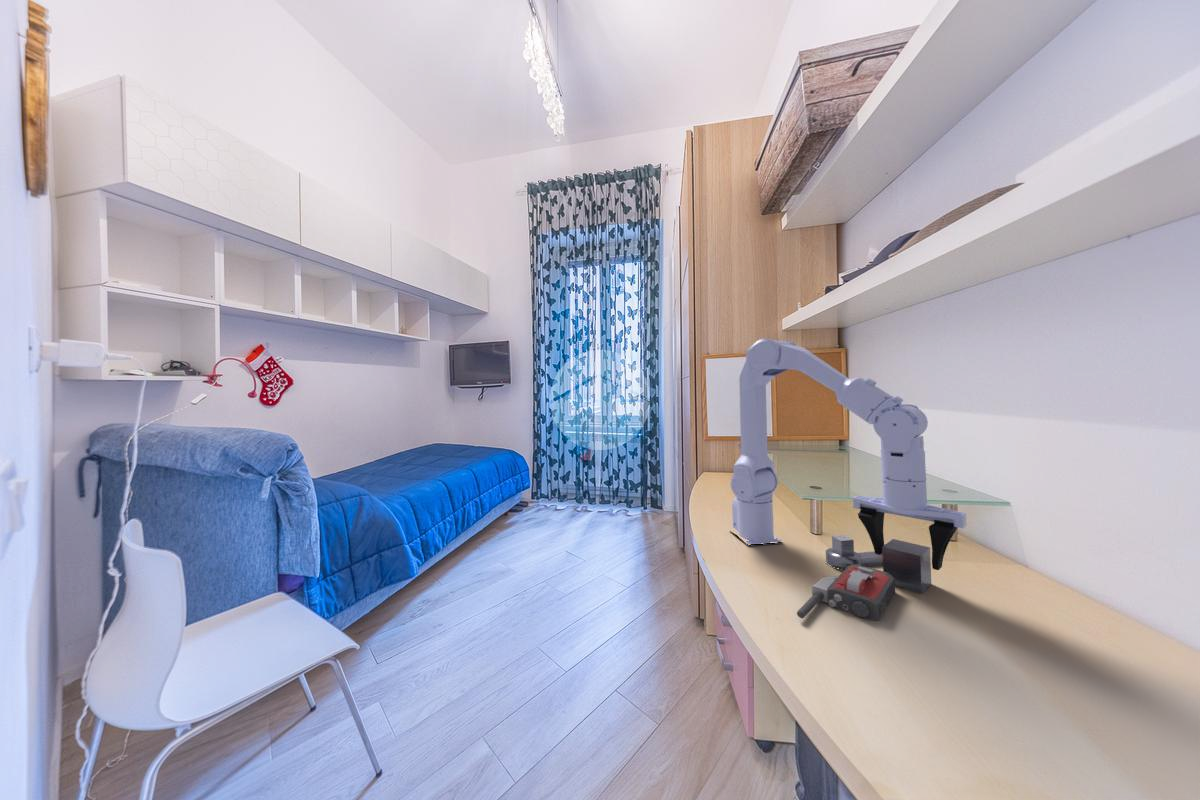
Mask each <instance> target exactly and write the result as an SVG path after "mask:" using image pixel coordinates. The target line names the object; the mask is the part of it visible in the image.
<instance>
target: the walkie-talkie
mask: <svg viewBox="0 0 1200 800" xmlns="http://www.w3.org/2000/svg"><path fill="white" fill-rule="evenodd" d="M811 593H812V594H811V597H809V599H808V600H807V601H806V602H805V603H804V604H803V605H802V606H801V607H800V608H799V609H798V610H797V611H796V615H797V617H798V618H800V619H805V617H806V616H808V614H809V613H810V612H812V611H811V610H812V609H813V608H815V606H816V605H817V604H818V603H820V602H823V603H827V604H828V605H829V607H831V608H837V609H839V610H843V611H846V612H849V613H851V614H854V615H856V616H857V617H859V618H863V619H864V618H865V619H868V620H872V621H874V622H878V621H880V619H881V618H882V616H883V615H884V614H885V611H886V610H887V608H888V606H889V604H890V603H891V601H892V600H893V598H894V596H895V594H896V586H895V579H894V578H893V577H892V576H891V575H890V574H889V573H887V572H884V571H883V570H881V569H876V568H872V567H869V566H861V565H856V564H855V565H851V566H848V567H847V568H846V569H845V570H844V571H842V572H841V573H840V574H839V575H838V576H836V575H834V576H823V577H822V578H820V579H819V580H818V582H817V583H814V584H813V585H812V586H811Z"/></svg>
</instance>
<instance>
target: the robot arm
mask: <svg viewBox="0 0 1200 800" xmlns="http://www.w3.org/2000/svg"><path fill="white" fill-rule="evenodd" d="M789 370H792V371H793V370H794V371H799V372H800V373H803V374H805V376H806V375H807V376H808V377H809V378H811V379H812V380H814V381H816V382H818V383H819V384H821V385H823V386H825V388H828V389H830V390H831V391H833V392H834V393H835V396H836V400H837V403H838V404H840V405H841V406H843V407H844V409H845V408H846V409H847V410H848V411H849V412H851V413H853V414H854V415H856V416H857V417H859V418H860V419H861V420H863V422H864V421H865V422H866V423H868V424H869V425H872V426H873V429H874V432H875V433H876V435H877V436H878V437H879V438H880V462H881V482H882V483H881V485H882V489H881V490H882V498H881V497H872V496H871V497H870V496H864V495H863V496H862V495H856V496H853V497H852V506H853V509H856V510H859V512H858V513H857V515H858V519H859V520H860V521H861V523H862V525H863V526H864V528H865V530H866V532H867V533H868V536H869V539H870V541H871V543H872V548H873V550H874V551H875V554H878V555H880V554H882V553H883V552H882V546H884V545H885V539H884V536H885V535H884V524H885V523H884V521H885V514H890V515H893V516H894V515H895V516H900V517H904V518H912V519H916V520H917V519H918V520H923V521H928V522H932V523H931V524H930V525H929V526H928V531H929V537H930V543H931V569H933V570H936V571H940V569H942V567H943V561H944V556H945V554H946V551H947V548H948V545H949V544H950V542H951V539H952V537H953V536H954V534H955V533H956V531H957V530H958V528H959V529H964V528H966V527H967V513H966V512H961V511H956V510H951V509H947V508H942V507H939V506H934V505H930V504H928V497H927V496H928V493H927V491H928V490H927V474H926V473H927V472H926V471H927V467H926V451H925V449H924V448H925V446H924V445H925V442H924V436H923V434H924V433H925V432H926V430H927V428H928V423H929V421H928V417H927V415H926V414H925V413H924V412H923V411H922V410H921V409H919V407H918V406H917V405H915V404H908V403H904V404H903V401H904V399H903V398H901V397H900V396H895V397H894V396H893V395H891V394H889V393H888V392H886V391H884V390H883V389H882V388H879V387H877V386H876V384H877V381H876V380H873V379H871V378H866V379H864V378H863V377H854V378H849V377H847V376H846V375H844V374H843V373H842V372H840V371H838V370H837V369H836V368H835V367H833V366H831V365H830V364H828V363H827V362H826V361H824V360H822V358H820V357H818V356H817V355H815V354H814V353H812V351H809V350H808V349H806V348H805V347H803V346H800V345H797V344H796V343H794V342H793V341H789V340H777V339H776V340H774V339H770V338H761V339H758V340H757V341H755V342H754V343H753V344H752V345H751V346H750V347H749V348H748V349H746V351H745V362H744V364H743V366H742V370H741V372H740V374H739V379H738V380H739V382H738V383H739V416H740V418H739V420H740V456H739V458H738V459H737V460H736V461H735V463H734V465H733V473H732V476H731V478H730V484H729V485H730V488H731V489H730V490H731V491H732V493H733V494H734V496H735V497H734V498H733V500H732V504H731V511H732V512H731V514H732V516H731V517H732V528H735V529H736V530H737V531H738V532H739V535H740V536H741V537H743V538H745V539H747V540H749V541H746V543H747V544H761V543H770V542H781V541H783V539H781V538H780V537H778V538H779V539H780V540H778V538H776V539H774V535H775V530H774V526H775V525H774V510H773V509H774V507H773V505H774V504H773V503H774V502H773V497H774V495H773V492H774V491H776V490H777V488H778V485H779V479H778V476H777V474H776V472H775V467H774V462H773V460H772V459H771V458H770V457H769V456H768V455H769V454H768V423H767V422H768V421H767V385H768V384H769V383H770V382H771V381H772V380H773V379H774V378H775V377H777V376H778V375H780V374H782V373H785V372H787V371H789ZM747 544H746V545H747ZM874 551H873V552H874Z"/></svg>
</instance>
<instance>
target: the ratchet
mask: <svg viewBox="0 0 1200 800" xmlns="http://www.w3.org/2000/svg"><path fill="white" fill-rule="evenodd" d="M831 545H832V546H831V547H830V548H827V549H826V550H825V563H826V562H827V563H828V564H829V565H831V566H833V567H835V568H839V569H842V570H845V569H846V568H847V567H848V566H851V565H855V564H856V565H861V566H865V567H869V565H870V566H879V564H881V565H883V553H882V554H880V555H878V554H875V551H865V552H856V551H855V543H854V539H853V538H851V537H849V536H847V535H844V534H842V535H841V534H840V535H832V536H831ZM827 563H826V564H827ZM828 564H827V565H828ZM829 565H828V566H829ZM831 566H830V567H831ZM833 567H832V568H833ZM835 568H834V569H835ZM842 570H841V571H842Z"/></svg>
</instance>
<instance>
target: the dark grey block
mask: <svg viewBox="0 0 1200 800" xmlns="http://www.w3.org/2000/svg"><path fill="white" fill-rule="evenodd" d="M882 552H883V564H882V571H884V572H887V573H889V574H890V575H891V576H892V577H893V578H894V579H895V587H898V588H901V589H905V590H908V591H910V592H913V593H917V594H920V595H922V594H923V593H924V592H926V590H927V589H928V588H929V587H930V586H931V585H932V557H931V547H929V546H925V545H921V544H917V543H913V542H908V541H903V540H899V539H894V538H893V539H891V540H890V541H888V542H887V543H884V546H882Z"/></svg>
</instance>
